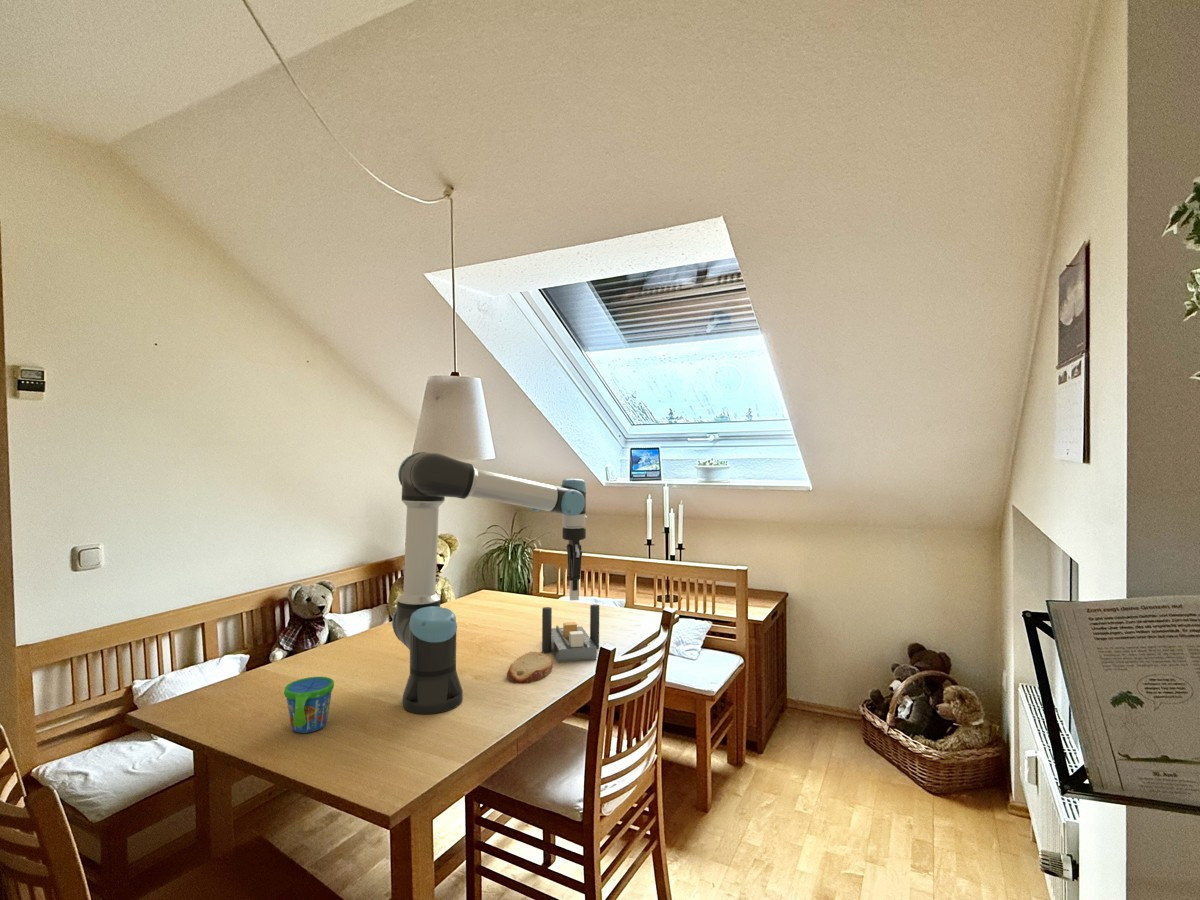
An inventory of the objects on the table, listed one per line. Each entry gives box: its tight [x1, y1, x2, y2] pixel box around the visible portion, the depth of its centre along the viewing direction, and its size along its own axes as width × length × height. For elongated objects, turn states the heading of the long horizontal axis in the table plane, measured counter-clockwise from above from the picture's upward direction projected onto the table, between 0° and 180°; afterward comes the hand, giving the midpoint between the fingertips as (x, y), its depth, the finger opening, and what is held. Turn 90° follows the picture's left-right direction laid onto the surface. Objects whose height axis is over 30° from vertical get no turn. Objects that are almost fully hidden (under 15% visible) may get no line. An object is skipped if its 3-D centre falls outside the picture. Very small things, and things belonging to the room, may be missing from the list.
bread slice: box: [506, 651, 554, 685], centre depth 182 cm, size 18×18×4 cm
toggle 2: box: [569, 631, 584, 647], centre depth 192 cm, size 3×4×4 cm
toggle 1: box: [562, 621, 578, 637], centre depth 202 cm, size 3×4×4 cm
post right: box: [589, 604, 600, 650], centre depth 202 cm, size 3×3×14 cm
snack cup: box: [283, 676, 335, 734], centre depth 144 cm, size 16×10×10 cm
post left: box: [541, 606, 553, 654], centre depth 198 cm, size 3×3×14 cm
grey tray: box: [551, 625, 598, 663], centre depth 200 cm, size 22×12×5 cm, turn 14°
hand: (574, 599), depth 197 cm, fingers closed
